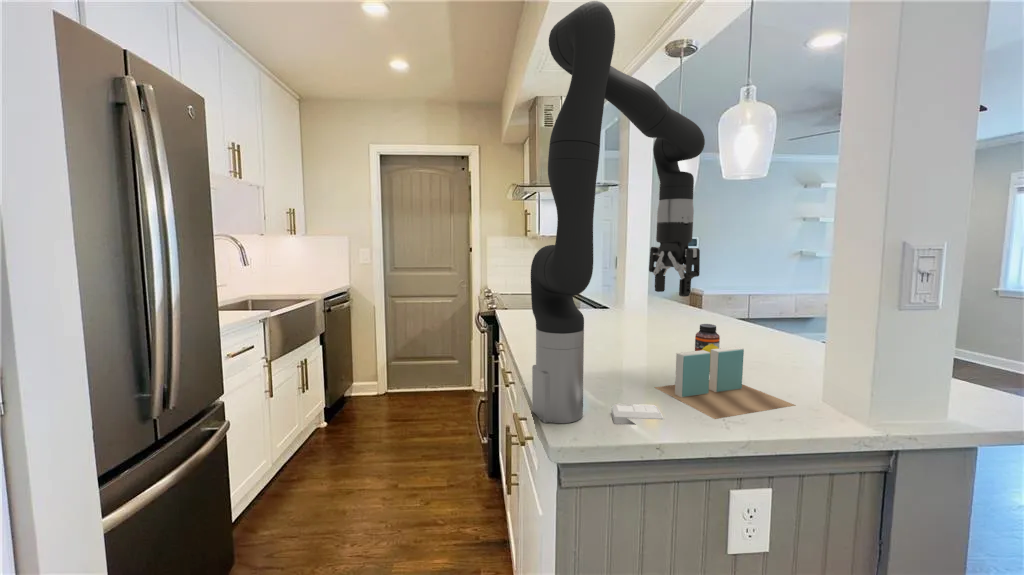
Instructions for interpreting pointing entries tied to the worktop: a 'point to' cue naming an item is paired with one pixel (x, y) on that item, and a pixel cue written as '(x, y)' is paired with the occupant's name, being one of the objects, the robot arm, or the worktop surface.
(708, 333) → the supplement bottle
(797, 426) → the worktop surface
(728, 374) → the tile far
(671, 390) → the board
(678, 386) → the tile near
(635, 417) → the white light switch
